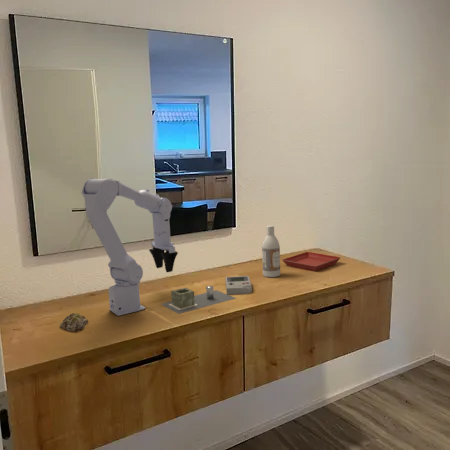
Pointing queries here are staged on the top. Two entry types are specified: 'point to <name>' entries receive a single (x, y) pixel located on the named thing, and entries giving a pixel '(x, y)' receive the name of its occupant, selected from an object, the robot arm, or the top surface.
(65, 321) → the mineral rock
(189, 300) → the sleeve
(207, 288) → the peg
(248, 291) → the handheld gaming device
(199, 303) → the board
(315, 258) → the plant saucer
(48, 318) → the top surface
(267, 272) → the bath foam
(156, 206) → the robot arm
